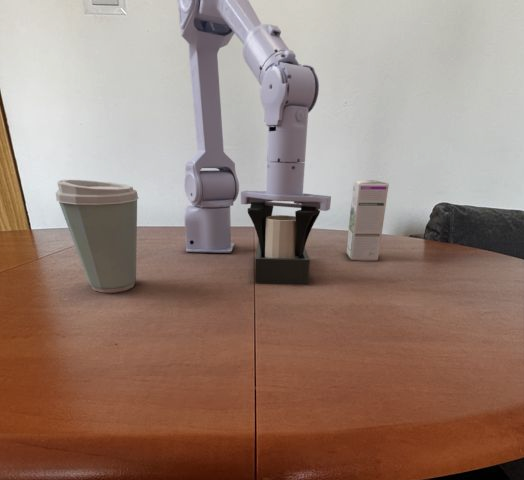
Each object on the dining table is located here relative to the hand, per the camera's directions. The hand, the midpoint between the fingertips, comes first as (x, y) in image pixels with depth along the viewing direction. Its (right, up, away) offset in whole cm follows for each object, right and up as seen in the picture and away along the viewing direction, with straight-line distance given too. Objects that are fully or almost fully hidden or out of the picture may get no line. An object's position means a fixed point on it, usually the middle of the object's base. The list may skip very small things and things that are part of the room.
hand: (281, 252), depth 63 cm
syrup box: (+17, +3, +15) cm, 23 cm away
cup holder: (0, -2, +5) cm, 6 cm away
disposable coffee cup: (-26, -7, -5) cm, 28 cm away
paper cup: (0, -2, +1) cm, 2 cm away
